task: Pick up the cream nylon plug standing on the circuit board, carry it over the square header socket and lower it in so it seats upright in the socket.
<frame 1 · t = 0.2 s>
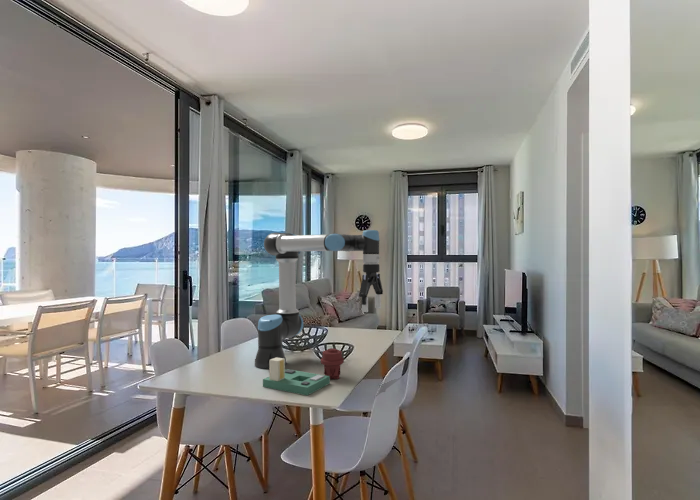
hand: (371, 310, 182), 28 cm above the table, fingers open, 13 cm apart
plug: (277, 378, 162), point 3 cm above the table, touching board
board: (296, 385, 163), on the table
mechanical component: (332, 378, 172), on the table
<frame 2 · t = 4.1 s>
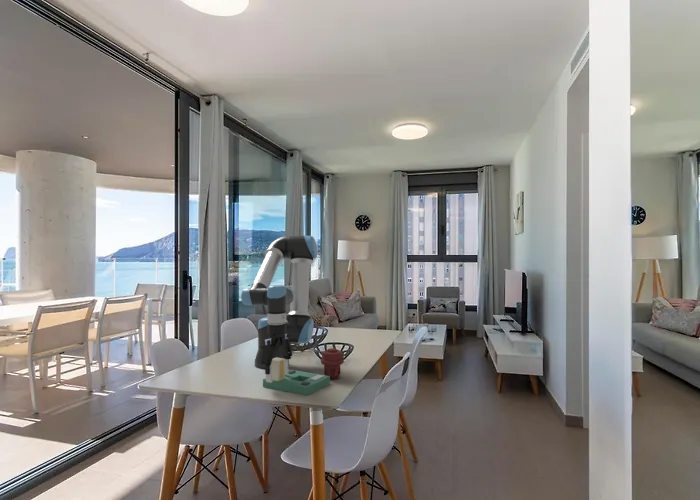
hand: (277, 378, 162), 3 cm above the table, fingers open, 9 cm apart
nothing on the table moved.
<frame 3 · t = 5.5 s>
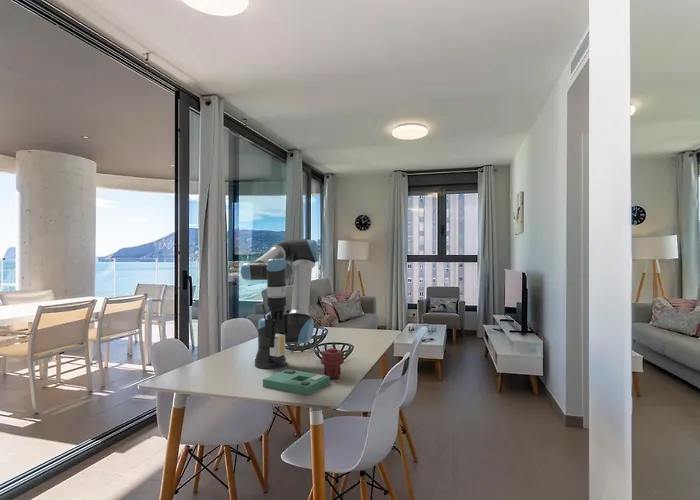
hand: (277, 353, 162), 13 cm above the table, fingers closed on plug, 4 cm apart
plug: (277, 354, 162), point 13 cm above the table, touching gripper
everything else where it was.
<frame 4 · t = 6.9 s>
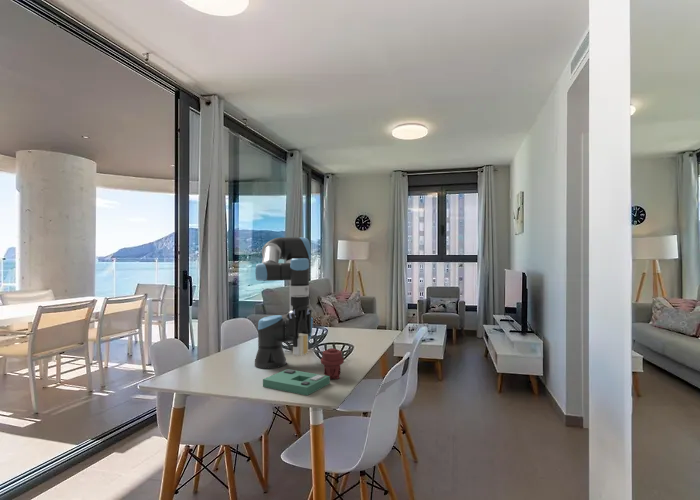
hand: (300, 353, 162), 13 cm above the table, fingers closed on plug, 4 cm apart
plug: (300, 354, 162), point 13 cm above the table, touching gripper
everything else where it was.
when the fingers open (4 cm above the table, at t = 8.5 s): plug drops 3 cm, resting in board.
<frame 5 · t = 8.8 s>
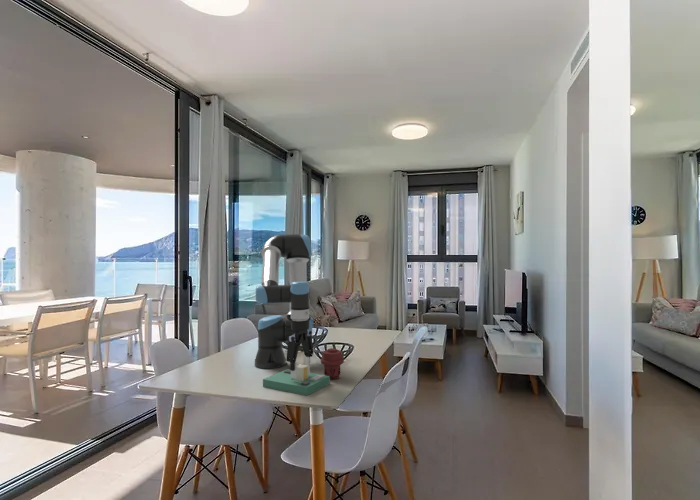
hand: (300, 375, 162), 4 cm above the table, fingers open, 8 cm apart
plug: (300, 385, 162), resting in board
everything else where it was.
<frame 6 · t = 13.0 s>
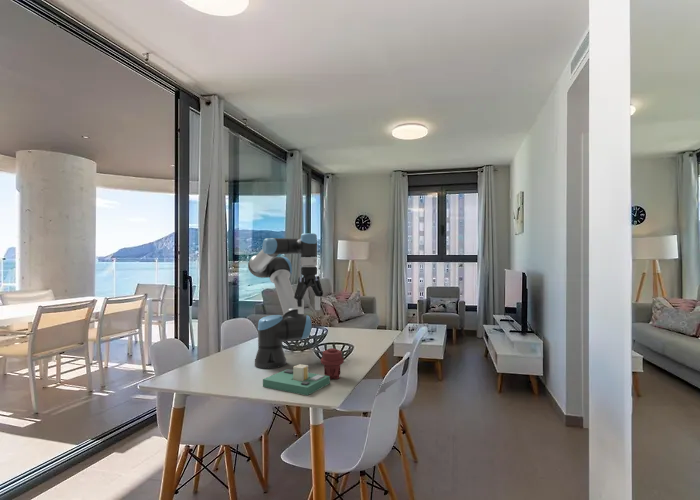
hand: (309, 311, 186), 27 cm above the table, fingers open, 13 cm apart
nothing on the table moved.
at the end: plug 0.1 cm from the target spot on the board, point 0.0 cm above the board's base; plug tilted 0°; the gripper is holding nothing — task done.
